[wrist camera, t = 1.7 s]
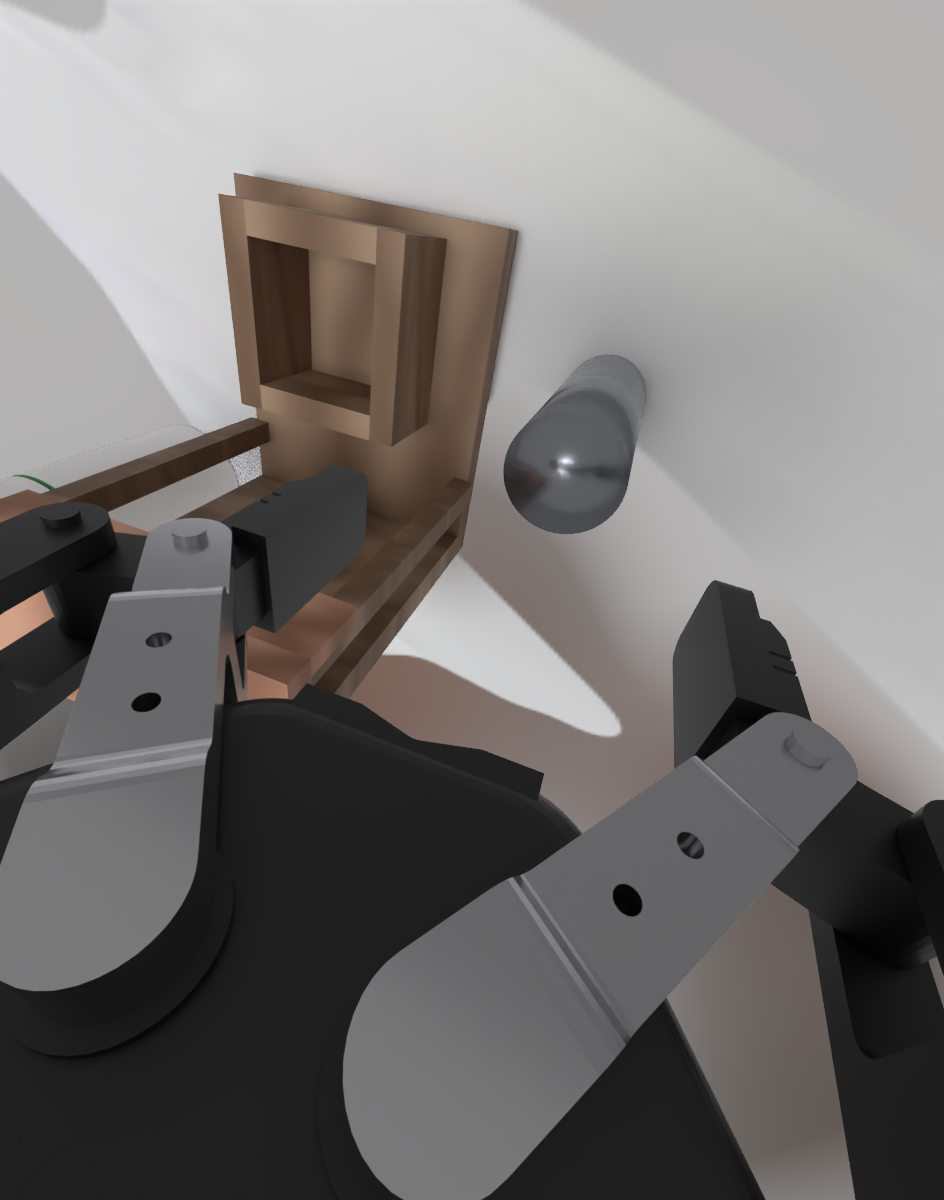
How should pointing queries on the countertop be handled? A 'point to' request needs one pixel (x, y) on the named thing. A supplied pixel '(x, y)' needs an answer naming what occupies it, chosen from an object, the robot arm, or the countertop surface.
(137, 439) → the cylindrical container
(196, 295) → the countertop surface
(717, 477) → the countertop surface
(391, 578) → the wooden frame stand
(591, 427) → the steel peg
